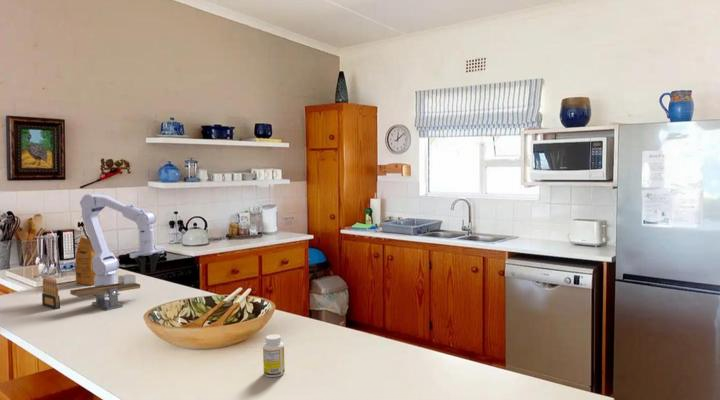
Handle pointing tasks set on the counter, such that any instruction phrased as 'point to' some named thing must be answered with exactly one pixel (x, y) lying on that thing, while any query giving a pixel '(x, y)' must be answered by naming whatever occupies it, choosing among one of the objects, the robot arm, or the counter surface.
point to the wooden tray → (101, 289)
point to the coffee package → (84, 262)
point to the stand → (110, 303)
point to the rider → (126, 280)
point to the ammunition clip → (50, 293)
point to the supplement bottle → (273, 356)
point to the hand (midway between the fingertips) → (148, 272)
